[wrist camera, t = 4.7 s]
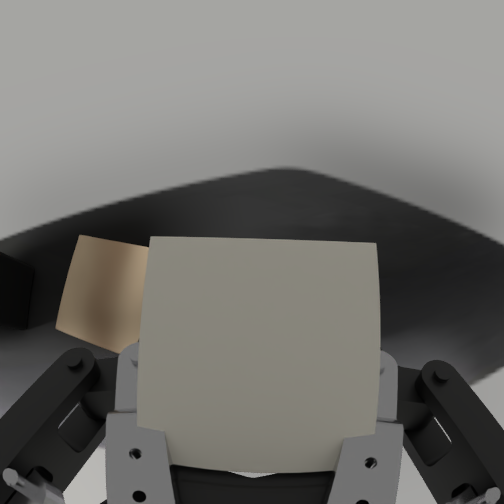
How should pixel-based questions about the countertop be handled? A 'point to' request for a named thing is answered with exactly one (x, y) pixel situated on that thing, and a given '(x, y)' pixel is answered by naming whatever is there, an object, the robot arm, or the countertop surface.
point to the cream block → (259, 350)
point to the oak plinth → (104, 293)
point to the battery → (14, 292)
